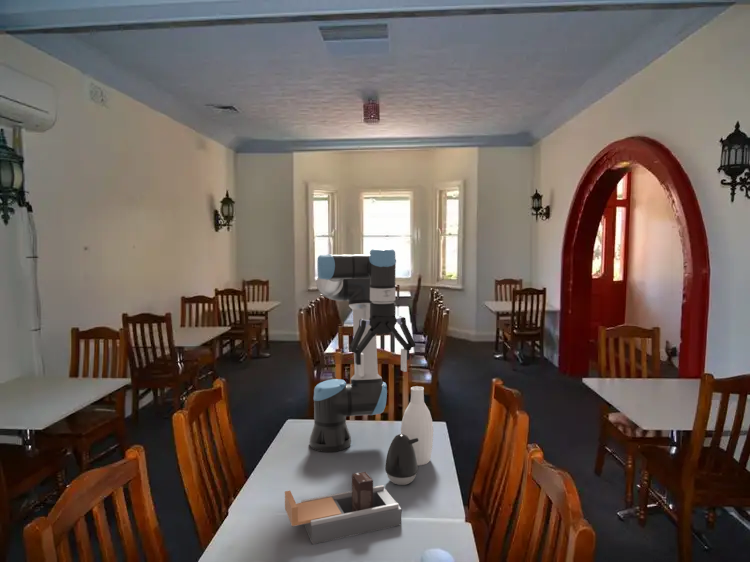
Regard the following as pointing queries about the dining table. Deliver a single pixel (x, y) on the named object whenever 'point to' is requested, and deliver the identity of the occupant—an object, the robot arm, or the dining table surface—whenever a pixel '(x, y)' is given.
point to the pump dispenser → (401, 460)
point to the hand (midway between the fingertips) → (382, 373)
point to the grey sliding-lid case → (355, 517)
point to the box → (362, 491)
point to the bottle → (418, 425)
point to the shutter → (309, 509)
